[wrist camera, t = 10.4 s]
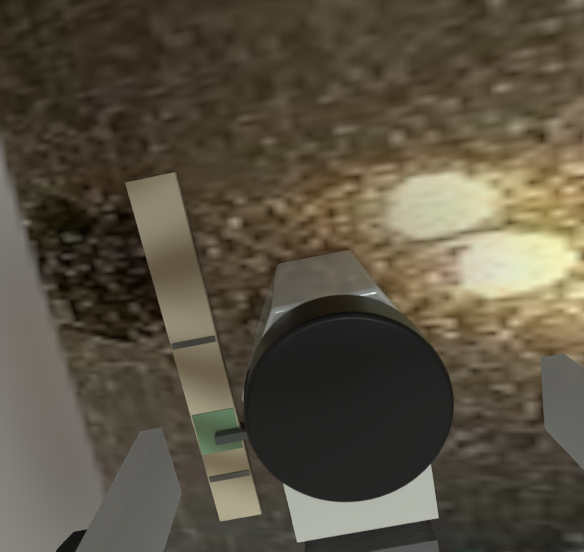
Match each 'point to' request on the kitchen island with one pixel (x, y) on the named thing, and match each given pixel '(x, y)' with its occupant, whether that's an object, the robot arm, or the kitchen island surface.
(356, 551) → the two-tone gray brick
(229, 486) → the strip
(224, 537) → the kitchen island surface
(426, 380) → the jar
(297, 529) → the carriage
